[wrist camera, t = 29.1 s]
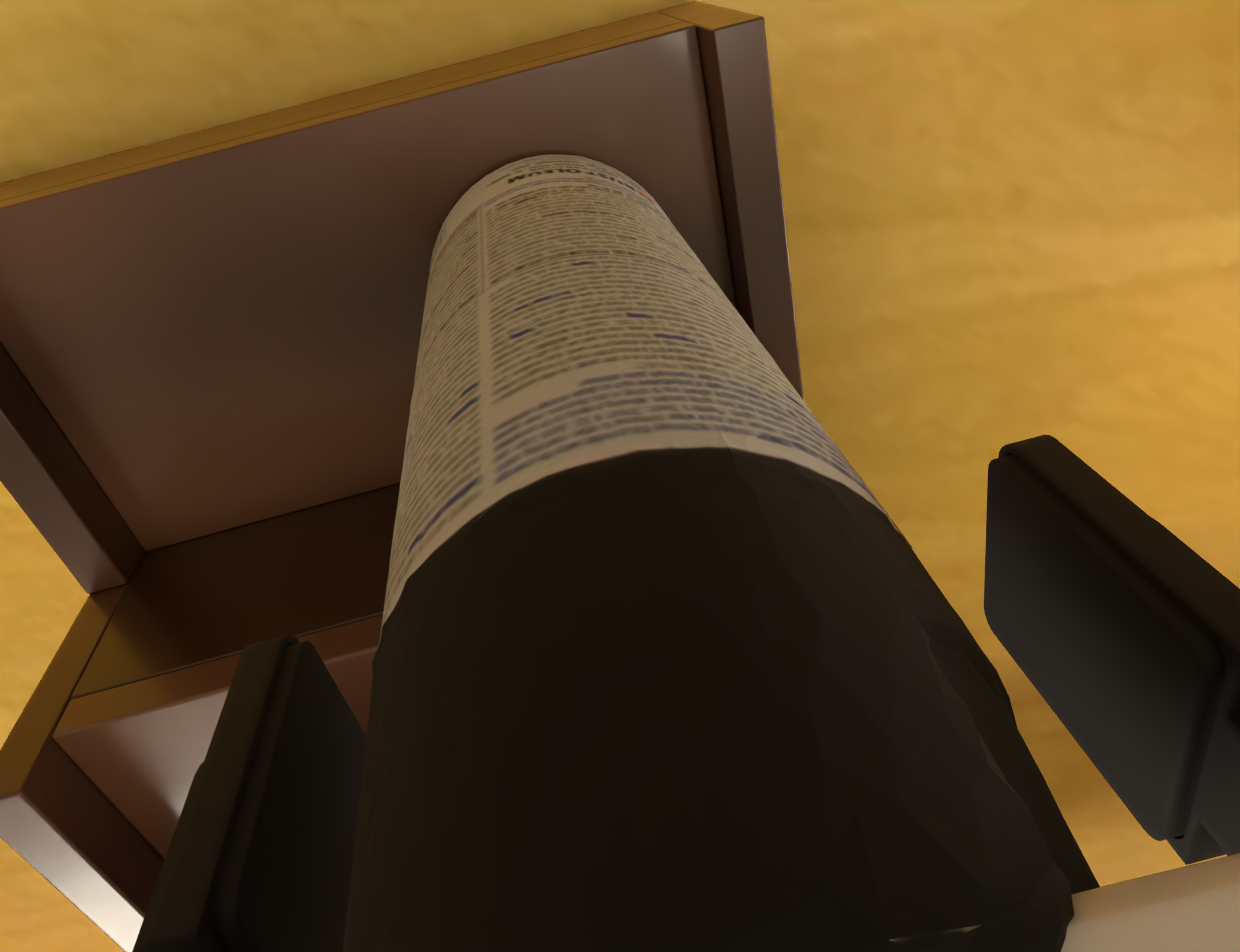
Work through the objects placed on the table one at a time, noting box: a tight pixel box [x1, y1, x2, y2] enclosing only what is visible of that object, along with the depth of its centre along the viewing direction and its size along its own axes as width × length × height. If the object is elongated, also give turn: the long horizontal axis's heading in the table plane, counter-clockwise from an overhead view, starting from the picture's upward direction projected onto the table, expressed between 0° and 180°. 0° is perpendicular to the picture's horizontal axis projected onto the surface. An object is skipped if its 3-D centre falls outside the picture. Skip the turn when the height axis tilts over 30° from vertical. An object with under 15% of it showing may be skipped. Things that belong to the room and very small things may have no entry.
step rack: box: [0, 1, 913, 952], centre depth 24 cm, size 23×21×15 cm
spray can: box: [343, 154, 1100, 952], centre depth 14 cm, size 7×7×20 cm
